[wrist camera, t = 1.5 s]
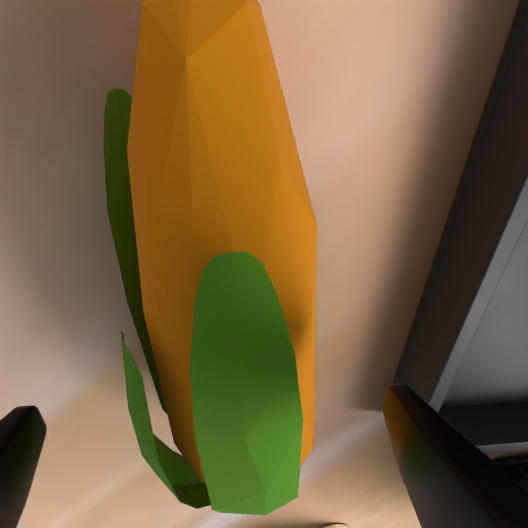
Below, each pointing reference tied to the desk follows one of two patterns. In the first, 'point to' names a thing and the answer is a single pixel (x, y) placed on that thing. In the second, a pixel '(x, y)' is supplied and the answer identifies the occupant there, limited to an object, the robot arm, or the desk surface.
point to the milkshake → (335, 526)
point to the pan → (482, 277)
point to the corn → (215, 255)
